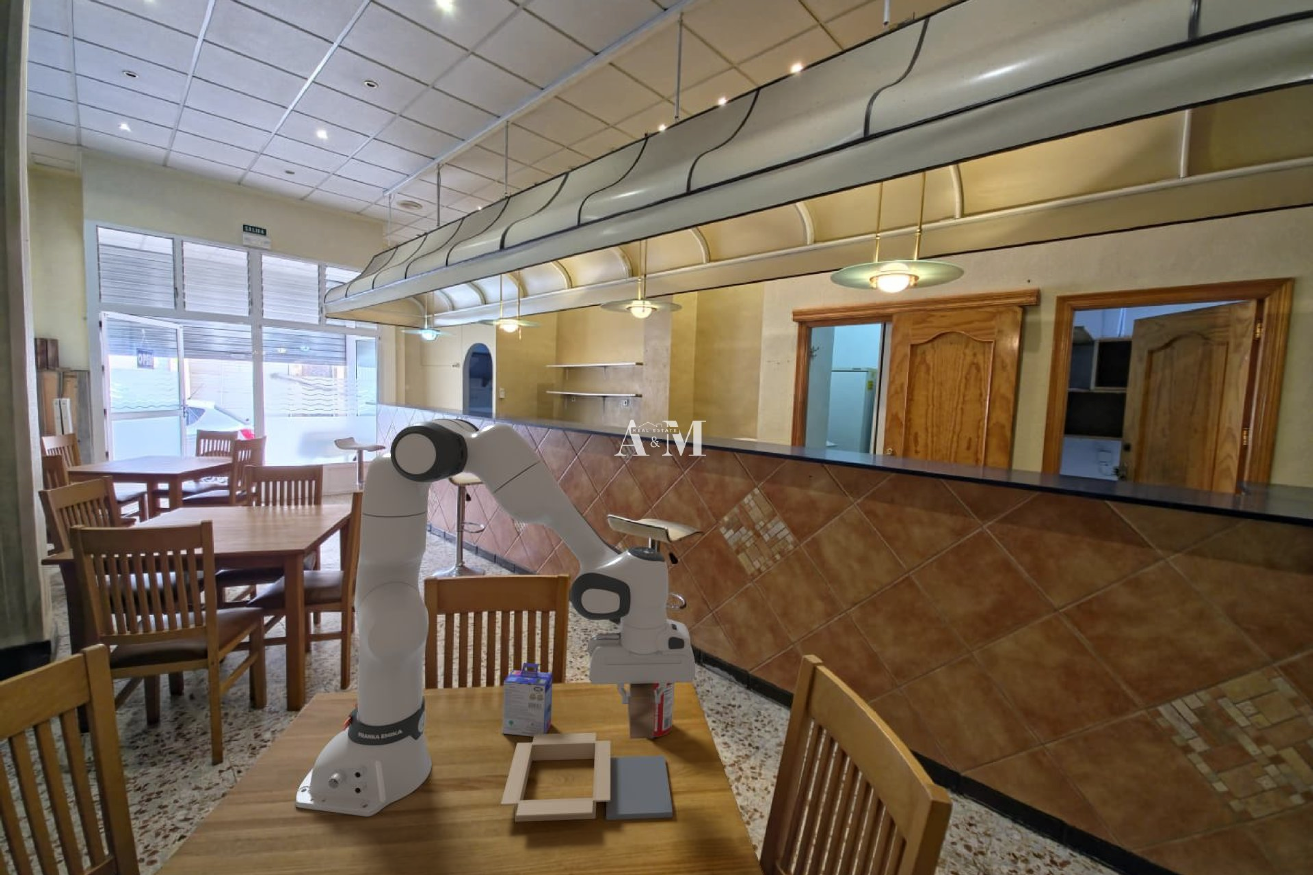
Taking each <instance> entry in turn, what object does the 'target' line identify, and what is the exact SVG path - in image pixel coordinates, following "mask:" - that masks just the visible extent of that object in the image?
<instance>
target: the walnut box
mask: <svg viewBox="0 0 1313 875" xmlns="http://www.w3.org/2000/svg"><path fill="white" fill-rule="evenodd" d="M628 691H630V704H627V710H628V713H627V714H628V730H629V731H628V732H629V739H630V740H631V739H633V740H634V739H636V740H637V739H654V716H655V692H654V685H653V683H642V684H628Z"/></svg>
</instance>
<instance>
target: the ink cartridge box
mask: <svg viewBox="0 0 1313 875" xmlns="http://www.w3.org/2000/svg"><path fill="white" fill-rule="evenodd" d="M526 668H533V669H534V670H526ZM502 695H503V699H502V701H503V702H502V731H501V733H502V734H504V735H505V734H507V735H514V736H515V735H516V736H524V737H533V738H534V734H547V733H548V730H549V729H550V727H551V726H552V706H553V705H552V704H553V703H552V702H553V672H552V673H551V672H541V671H539V664H538V663H529V662H523V665H522V669H521V670H517V669H512V671H510V673H509V674H508V676H507V677H506V678H505V680H504V681H503V694H502Z"/></svg>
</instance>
